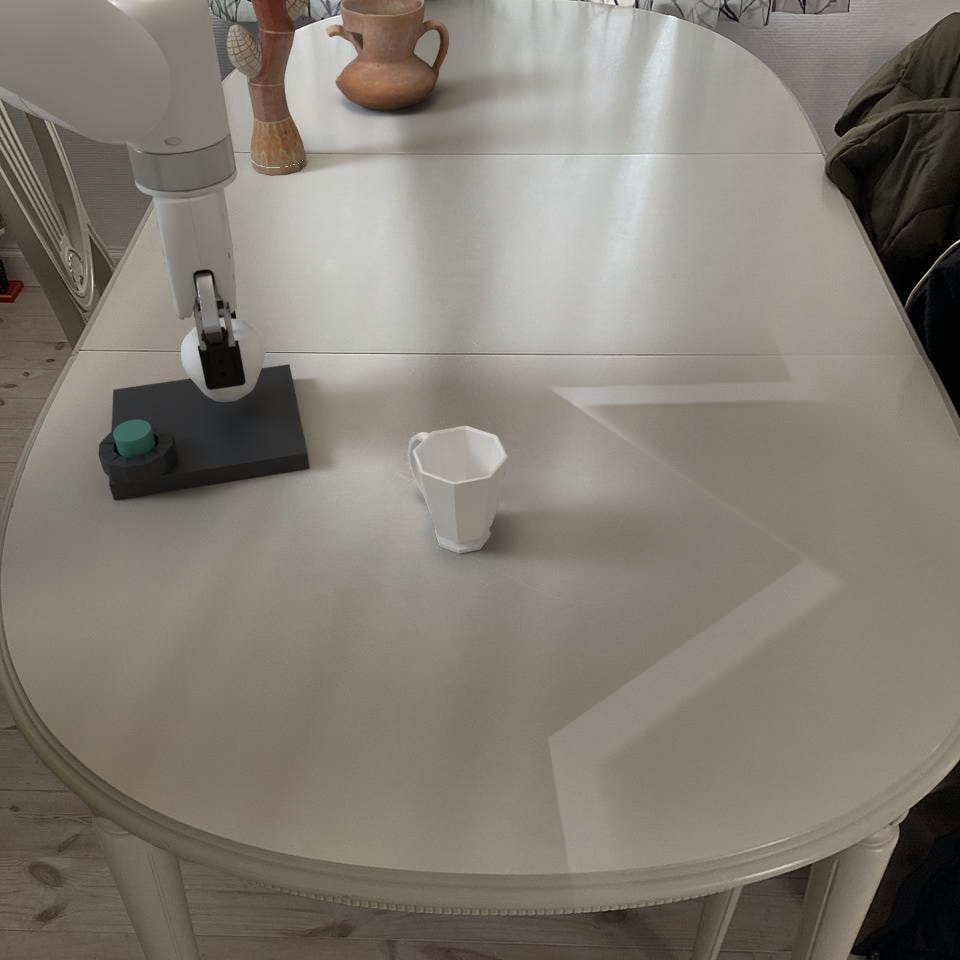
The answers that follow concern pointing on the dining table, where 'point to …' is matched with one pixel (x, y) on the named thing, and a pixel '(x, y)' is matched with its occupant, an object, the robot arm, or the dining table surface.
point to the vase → (270, 84)
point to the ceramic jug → (387, 52)
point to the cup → (459, 483)
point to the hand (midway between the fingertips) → (223, 359)
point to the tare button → (134, 438)
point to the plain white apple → (250, 355)
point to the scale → (206, 435)
